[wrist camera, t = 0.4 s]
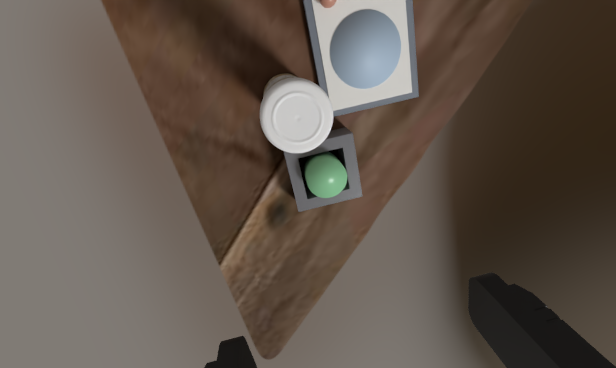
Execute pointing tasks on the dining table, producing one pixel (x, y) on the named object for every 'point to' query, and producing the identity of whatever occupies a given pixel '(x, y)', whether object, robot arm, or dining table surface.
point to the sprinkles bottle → (295, 113)
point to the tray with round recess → (363, 52)
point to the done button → (325, 175)
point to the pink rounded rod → (327, 3)
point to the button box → (347, 154)
